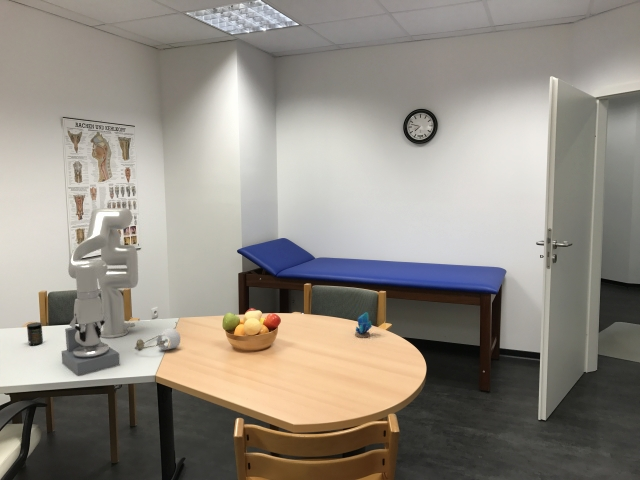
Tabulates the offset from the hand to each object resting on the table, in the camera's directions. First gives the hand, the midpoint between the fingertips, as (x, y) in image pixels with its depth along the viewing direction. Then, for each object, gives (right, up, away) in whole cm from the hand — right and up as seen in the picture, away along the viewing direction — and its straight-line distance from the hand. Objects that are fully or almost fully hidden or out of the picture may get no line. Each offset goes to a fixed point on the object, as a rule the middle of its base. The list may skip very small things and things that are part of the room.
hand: (90, 338), depth 203 cm
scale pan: (0, -5, +1) cm, 5 cm away
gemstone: (+112, -6, +38) cm, 118 cm away
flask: (0, -2, 0) cm, 2 cm away
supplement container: (-36, -8, +26) cm, 45 cm away
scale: (-1, -11, +3) cm, 11 cm away
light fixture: (+23, -7, +30) cm, 39 cm away
